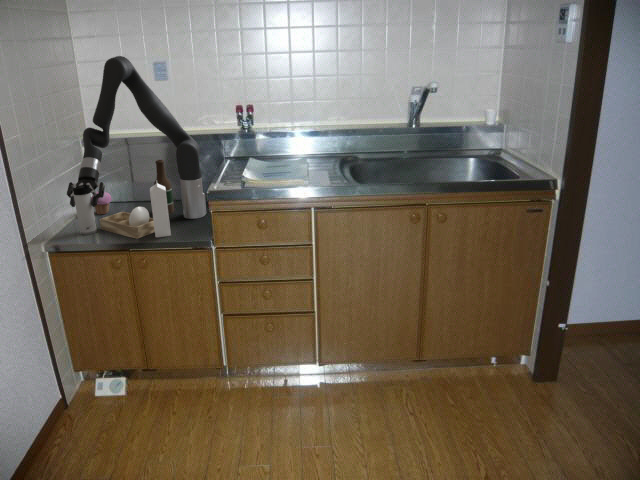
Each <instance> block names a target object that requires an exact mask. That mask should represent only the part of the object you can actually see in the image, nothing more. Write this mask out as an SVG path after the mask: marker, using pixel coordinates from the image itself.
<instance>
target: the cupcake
mask: <svg viewBox="0 0 640 480" xmlns="http://www.w3.org/2000/svg"><path fill="white" fill-rule="evenodd" d="M95 192H96V193H97V194H98V192H99V191H95ZM93 197H94V195H93V194H92V195H91V199H93ZM111 201H112V195H111V194H110V193H109V192H107V191H104V197H103V198H101V197H100V198H99V199H98V201H97V205H96V206H95V207H94V209H95V213H96V214H97V215H106V214H108V213H109V211H110V203H111Z"/></svg>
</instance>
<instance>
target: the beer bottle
mask: <svg viewBox="0 0 640 480" xmlns="http://www.w3.org/2000/svg"><path fill="white" fill-rule="evenodd" d="M164 163H165V160H163V159H157V160H155V166H156V168H155V169H156V179H155V180H154V183H153V186H154V185H155V184H157V183H158V184H160V185H162V186H165V188H166V197H167V206H168V214H169V215H171V214H173V213H175V204H174V194H173V188H172V183H171V181H170V180H169V179H168V177H167V174H166V169H165V164H164Z"/></svg>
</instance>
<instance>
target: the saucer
mask: <svg viewBox="0 0 640 480" xmlns="http://www.w3.org/2000/svg"><path fill="white" fill-rule="evenodd" d="M129 213H130V216H129V223H130V226H134V227H137V226H140V225H143V224H145V223H148V222H149V218H150V212H149V211H148V209H147V208H146V207H144V206H136V207H134V208H133V209H132V210H131V211H130V212H129Z"/></svg>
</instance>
